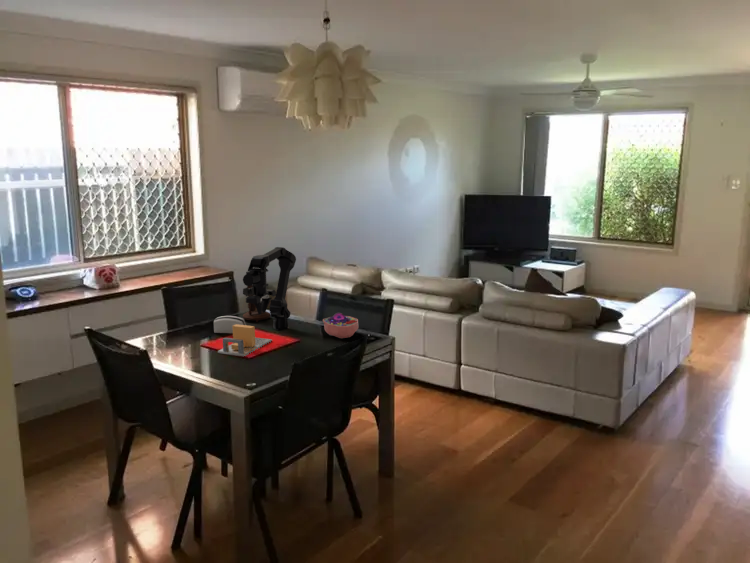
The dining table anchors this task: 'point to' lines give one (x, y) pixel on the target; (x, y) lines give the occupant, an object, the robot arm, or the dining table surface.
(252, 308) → the brown round-based stand
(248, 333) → the tan chunky block
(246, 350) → the baseplate
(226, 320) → the grey napkin holder
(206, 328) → the dining table surface
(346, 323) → the cell model
